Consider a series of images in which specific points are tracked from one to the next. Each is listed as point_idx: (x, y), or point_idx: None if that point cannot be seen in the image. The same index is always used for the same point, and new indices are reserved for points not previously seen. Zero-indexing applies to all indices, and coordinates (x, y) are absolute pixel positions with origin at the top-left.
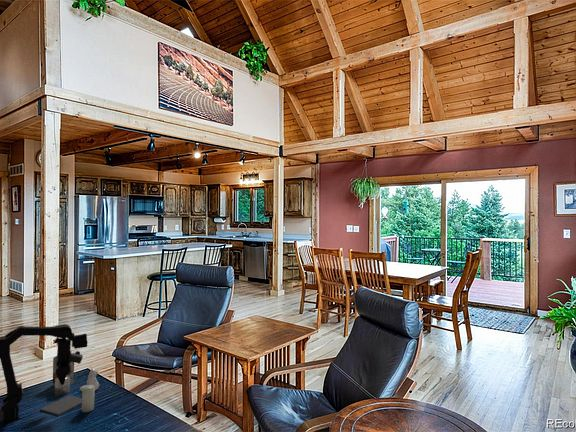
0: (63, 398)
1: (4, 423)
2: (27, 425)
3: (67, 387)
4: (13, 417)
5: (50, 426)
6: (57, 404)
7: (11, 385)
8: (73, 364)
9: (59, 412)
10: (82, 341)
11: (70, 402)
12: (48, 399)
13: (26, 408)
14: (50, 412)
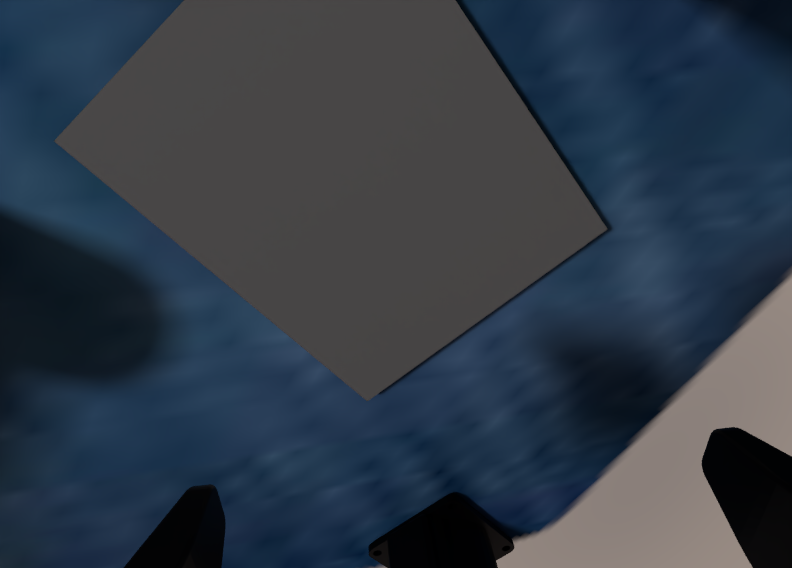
0: (155, 217)
1: (506, 553)
2: (619, 425)
3: None
4: (482, 541)
5: (781, 265)
6: (328, 266)
7: None
8: None
9: (571, 223)
10: None
11: (333, 117)
12: (93, 362)
13: (264, 488)
14: (493, 305)
